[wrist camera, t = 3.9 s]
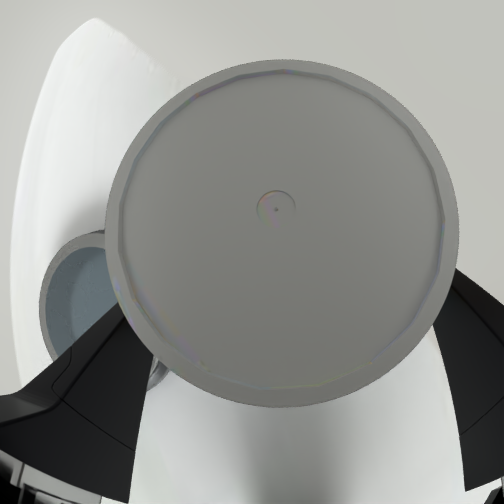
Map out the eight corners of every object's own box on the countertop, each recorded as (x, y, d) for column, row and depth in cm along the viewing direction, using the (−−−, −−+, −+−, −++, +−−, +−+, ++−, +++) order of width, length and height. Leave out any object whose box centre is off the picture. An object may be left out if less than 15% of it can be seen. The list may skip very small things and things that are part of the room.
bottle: (246, 217, 20) (130, 63, 5) (350, 223, 19) (446, 65, 4) (236, 322, 19) (76, 384, 5) (344, 331, 18) (459, 428, 3)
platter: (204, 320, 18) (198, 322, 17) (108, 422, 18) (100, 426, 17) (101, 204, 21) (92, 200, 20) (31, 310, 21) (22, 309, 20)
